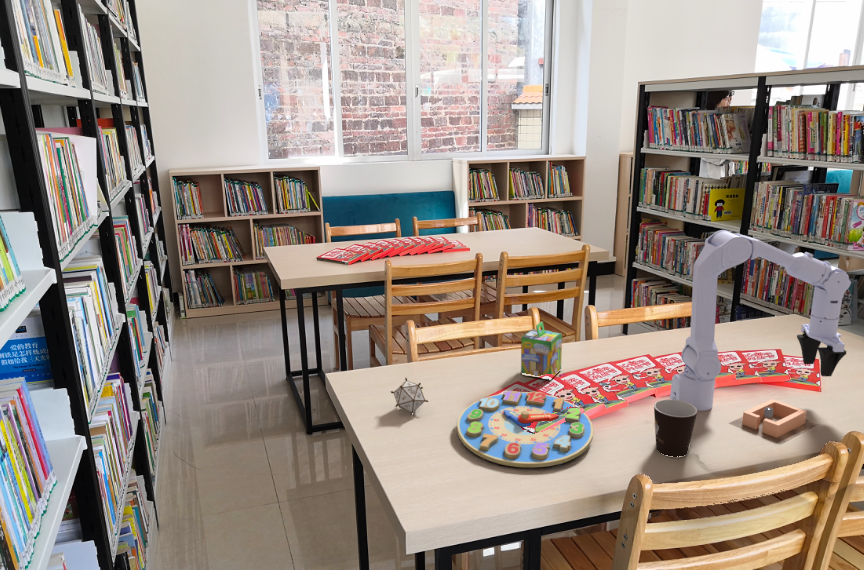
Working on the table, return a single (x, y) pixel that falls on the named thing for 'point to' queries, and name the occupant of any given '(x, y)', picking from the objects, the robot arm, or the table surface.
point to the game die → (409, 396)
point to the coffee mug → (673, 426)
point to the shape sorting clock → (510, 445)
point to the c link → (789, 422)
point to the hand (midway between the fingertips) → (817, 369)
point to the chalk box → (541, 352)
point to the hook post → (768, 413)
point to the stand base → (778, 440)
